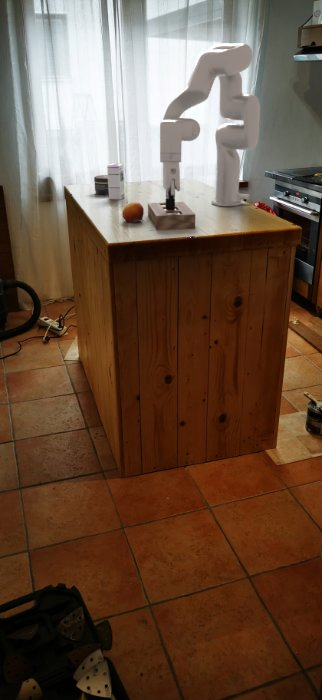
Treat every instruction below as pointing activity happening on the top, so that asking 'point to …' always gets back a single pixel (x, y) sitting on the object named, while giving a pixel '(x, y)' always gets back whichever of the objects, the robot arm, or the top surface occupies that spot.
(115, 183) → the syrup box
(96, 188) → the jar
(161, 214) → the wooden slot board
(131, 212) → the fruit
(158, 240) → the top surface
